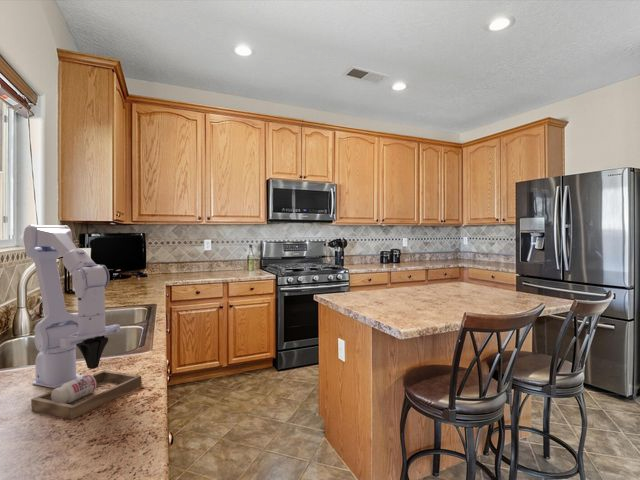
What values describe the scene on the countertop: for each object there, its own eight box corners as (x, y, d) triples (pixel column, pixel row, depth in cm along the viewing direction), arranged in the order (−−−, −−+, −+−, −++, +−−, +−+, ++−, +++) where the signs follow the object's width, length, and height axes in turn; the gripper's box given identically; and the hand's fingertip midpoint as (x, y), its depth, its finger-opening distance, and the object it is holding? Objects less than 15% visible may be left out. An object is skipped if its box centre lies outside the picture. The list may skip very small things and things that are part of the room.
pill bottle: (99, 381, 89) (66, 395, 81) (93, 396, 90) (59, 412, 82) (87, 370, 90) (53, 383, 82) (81, 384, 91) (46, 399, 83)
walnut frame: (31, 409, 81) (31, 399, 81) (104, 379, 99) (104, 370, 99) (72, 419, 77) (72, 408, 77) (141, 385, 94) (141, 376, 94)
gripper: (74, 321, 80) (75, 380, 80) (128, 309, 94) (129, 359, 94) (53, 319, 83) (54, 377, 83) (108, 307, 96) (109, 357, 96)
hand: (92, 367), depth 89 cm, fingers closed
